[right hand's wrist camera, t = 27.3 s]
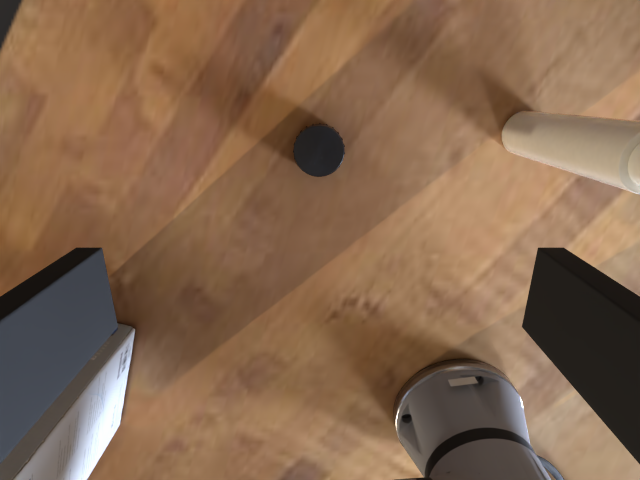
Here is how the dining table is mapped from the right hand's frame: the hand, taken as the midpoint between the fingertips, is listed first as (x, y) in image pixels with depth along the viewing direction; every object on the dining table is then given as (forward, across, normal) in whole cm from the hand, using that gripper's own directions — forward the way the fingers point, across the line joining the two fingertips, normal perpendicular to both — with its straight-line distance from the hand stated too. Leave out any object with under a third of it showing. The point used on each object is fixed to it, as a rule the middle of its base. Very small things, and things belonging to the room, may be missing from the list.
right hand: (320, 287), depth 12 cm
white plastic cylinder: (+29, +20, +2) cm, 35 cm away
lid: (+27, 0, 0) cm, 27 cm away
